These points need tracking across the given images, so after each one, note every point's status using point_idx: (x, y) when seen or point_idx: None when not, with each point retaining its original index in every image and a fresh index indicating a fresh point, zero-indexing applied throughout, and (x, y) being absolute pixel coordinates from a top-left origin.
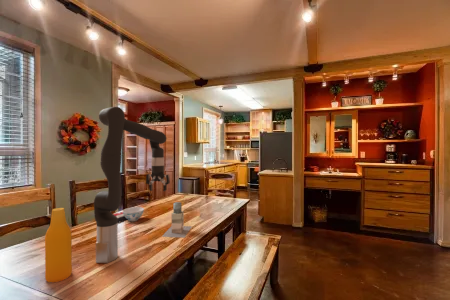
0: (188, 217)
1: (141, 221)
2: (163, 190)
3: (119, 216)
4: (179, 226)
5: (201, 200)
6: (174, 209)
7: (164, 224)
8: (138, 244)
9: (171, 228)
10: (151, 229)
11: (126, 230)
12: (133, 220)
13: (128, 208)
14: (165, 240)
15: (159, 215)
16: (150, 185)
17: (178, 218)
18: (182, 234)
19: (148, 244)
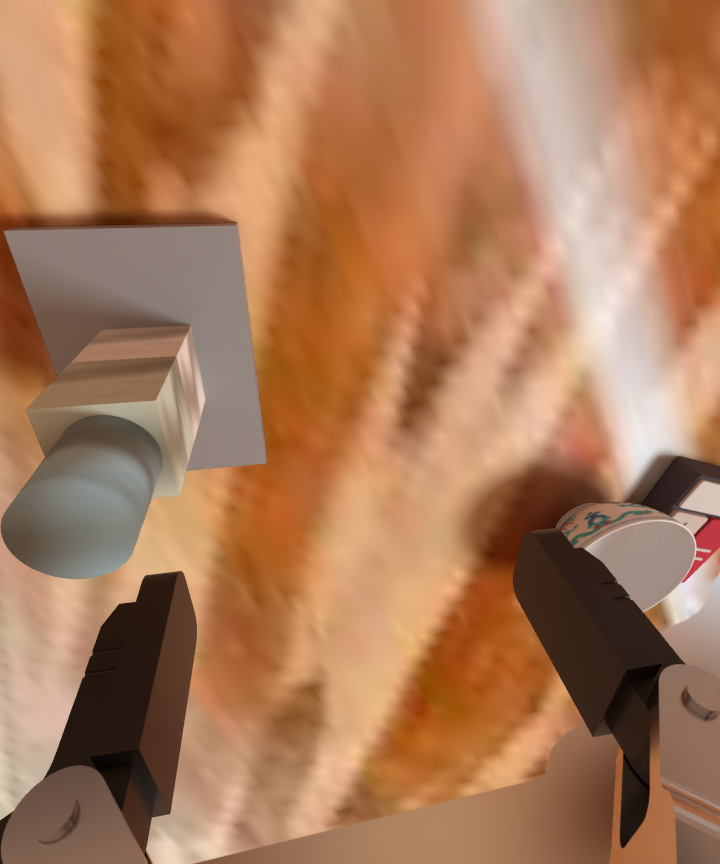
0: (237, 630)
1: (523, 513)
2: (172, 584)
3: (685, 512)
4: (97, 350)
5: (285, 833)
6: (114, 446)
7: (348, 499)
8: (388, 72)
9: (240, 411)
10: (405, 401)
11: (577, 354)
12: (578, 509)
13: (663, 593)
14: (187, 197)
15: (442, 616)
16: (637, 655)
17: (80, 382)
18: (69, 301)
19: (297, 81)
